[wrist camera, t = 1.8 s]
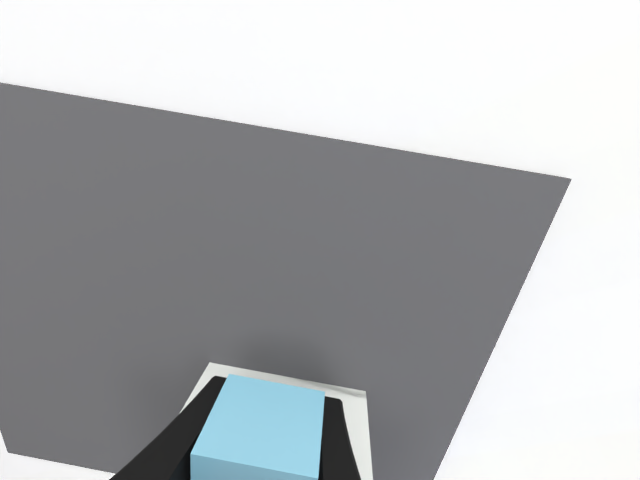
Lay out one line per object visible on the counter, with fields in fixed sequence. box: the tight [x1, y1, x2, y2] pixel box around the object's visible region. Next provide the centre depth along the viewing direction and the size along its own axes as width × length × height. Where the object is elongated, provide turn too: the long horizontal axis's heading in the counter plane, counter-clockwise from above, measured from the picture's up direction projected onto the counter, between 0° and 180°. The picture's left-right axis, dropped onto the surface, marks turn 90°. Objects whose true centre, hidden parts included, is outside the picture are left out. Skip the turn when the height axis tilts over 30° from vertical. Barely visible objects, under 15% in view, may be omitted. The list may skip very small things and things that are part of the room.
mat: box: [0, 83, 571, 480], centre depth 15 cm, size 22×26×1 cm
